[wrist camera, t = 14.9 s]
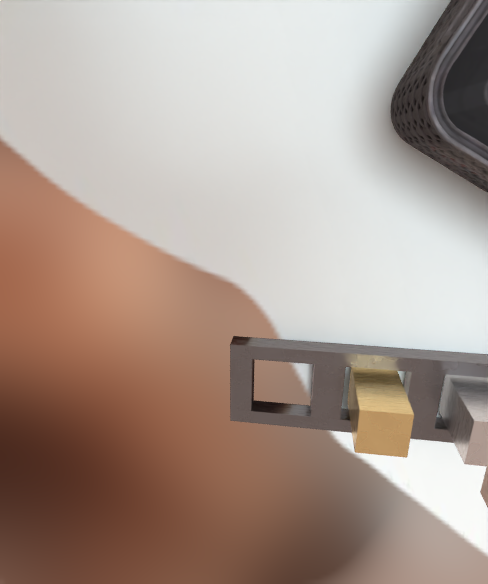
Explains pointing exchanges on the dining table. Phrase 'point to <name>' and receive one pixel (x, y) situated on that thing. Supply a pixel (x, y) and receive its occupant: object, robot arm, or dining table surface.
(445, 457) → the dining table surface
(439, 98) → the storage bin
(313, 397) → the rail
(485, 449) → the light grey block
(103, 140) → the dining table surface
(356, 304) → the dining table surface
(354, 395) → the maple wood beam
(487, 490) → the robot arm
